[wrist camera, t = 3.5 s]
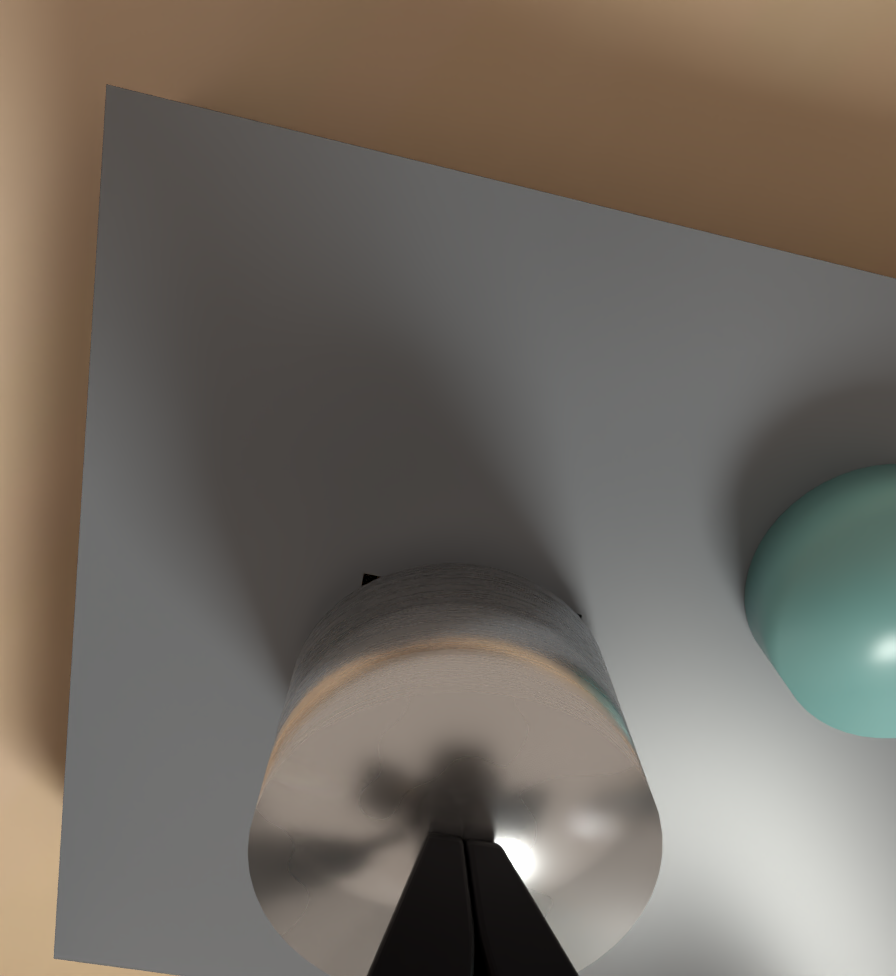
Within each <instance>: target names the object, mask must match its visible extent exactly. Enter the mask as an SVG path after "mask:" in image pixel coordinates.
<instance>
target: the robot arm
mask: <svg viewBox="0 0 896 976" xmlns="http://www.w3.org/2000/svg"><path fill="white" fill-rule="evenodd" d="M367 976H579V975H578V973H577V971H576V970H575V968H574V966H573V965H572V963H571V961H570V960H569V958H568V956H567V955H566V953H565V951H564V950H563V948H562V946H561V944H560V943H559V941H558V939H557V938H556V936H555V934H554V933H553V931H552V929H551V928H550V926H549V924H548V923H547V921H546V919H545V918H544V916H543V914H542V912H541V911H540V909H539V907H538V906H537V904H536V902H535V901H534V899H533V897H532V896H531V894H530V892H529V891H528V889H527V887H526V886H525V884H524V882H523V880H522V879H521V877H520V875H519V874H518V872H517V870H516V869H515V867H514V865H513V864H512V862H511V860H510V859H509V857H508V855H507V854H506V852H505V850H504V849H503V847H502V846H501V845H499V844H498V843H495V842H488V841H482V840H476V839H467V840H465V841H464V842H463V841H462V839H461V838H460V837H457V836H451V835H444V834H438V833H429V834H428V835H427V836H426V838H425V840H424V842H423V844H422V847H421V849H420V851H419V854H418V856H417V858H416V861H415V863H414V866H413V868H412V870H411V873H410V875H409V877H408V880H407V882H406V884H405V887H404V889H403V891H402V894H401V896H400V898H399V901H398V903H397V905H396V908H395V910H394V912H393V915H392V917H391V920H390V922H389V924H388V927H387V929H386V931H385V934H384V936H383V938H382V941H381V943H380V945H379V948H378V950H377V952H376V955H375V957H374V959H373V962H372V964H371V966H370V969H369V971H368V974H367Z"/></svg>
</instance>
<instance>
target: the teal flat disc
mask: <svg viewBox="0 0 896 976" xmlns="http://www.w3.org/2000/svg"><path fill="white" fill-rule="evenodd" d="M744 602H745V611H746V617H747V621H748V624H749V628H750V630H751V632H752V635H753V637H754V639H755V641H756V642H757V644H758V645H759V647H760V648H761V650H762V651H763V653H764V654H765V655H766V657H767V658H768V660H769V661H770V663H771V664H772V665H773V667H774V668H775V670H776V671H777V673H778V674H779V675H780V677H781V678H782V680H783V681H784V683H785V684H786V686H787V687H788V688H789V690H790V691H791V693H792V694H793V696H794V697H795V698H796V700H797V701H798V702H799V703H800V704H801V705H802V706H803V707H804V709H805V710H806V711H808V712H809V713H810V714H811V715H813V716H814V717H815V718H817V719H818V720H820V721H821V722H823V723H825V724H827V725H829V726H830V727H833V728H835V729H838V730H840V731H843V732H846V733H850V734H854V735H858V736H863V737H872V738H896V464H884V465H874V466H870V467H865V468H861V469H857V470H854V471H851V472H848V473H845V474H842V475H839V476H837V477H835V478H833V479H831V480H829V481H826V482H824V483H822V484H821V485H819V486H817V487H816V488H814V489H813V490H811V491H809V492H808V493H806V494H805V495H804V496H802V497H801V498H800V499H798V500H797V501H796V502H794V503H793V504H792V505H791V506H790V507H789V508H788V509H787V510H786V511H785V512H784V513H783V514H782V515H781V516H780V517H779V518H778V519H777V520H776V522H775V523H774V524H773V525H772V526H771V528H770V529H769V530H768V532H767V533H766V535H765V536H764V538H763V539H762V541H761V542H760V544H759V546H758V548H757V550H756V552H755V554H754V556H753V559H752V562H751V565H750V567H749V570H748V574H747V579H746V585H745V599H744Z"/></svg>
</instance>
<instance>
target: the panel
mask: <svg viewBox="0 0 896 976" xmlns="http://www.w3.org/2000/svg"><path fill="white" fill-rule="evenodd" d="M884 464H896V279H895V278H891V277H887V276H883V275H879V274H875V273H871V272H867V271H863V270H859V269H855V268H850V267H846V266H842V265H838V264H834V263H830V262H826V261H822V260H818V259H814V258H810V257H806V256H802V255H798V254H794V253H790V252H786V251H781V250H777V249H773V248H769V247H765V246H761V245H757V244H753V243H749V242H745V241H741V240H737V239H733V238H729V237H725V236H721V235H716V234H712V233H708V232H704V231H700V230H696V229H692V228H688V227H684V226H680V225H676V224H672V223H668V222H664V221H660V220H656V219H652V218H647V217H643V216H639V215H635V214H631V213H627V212H623V211H619V210H615V209H611V208H607V207H603V206H599V205H595V204H591V203H587V202H583V201H578V200H574V199H570V198H566V197H562V196H558V195H554V194H550V193H546V192H542V191H538V190H534V189H530V188H526V187H522V186H518V185H513V184H509V183H505V182H501V181H497V180H493V179H489V178H485V177H481V176H477V175H473V174H469V173H465V172H461V171H457V170H453V169H449V168H444V167H440V166H436V165H432V164H428V163H424V162H420V161H416V160H412V159H408V158H404V157H400V156H396V155H392V154H388V153H384V152H380V151H375V150H371V149H367V148H363V147H359V146H355V145H351V144H347V143H343V142H339V141H335V140H331V139H327V138H323V137H319V136H315V135H310V134H306V133H302V132H298V131H294V130H290V129H286V128H282V127H278V126H274V125H270V124H266V123H262V122H258V121H254V120H250V119H246V118H241V117H237V116H233V115H229V114H225V113H221V112H217V111H213V110H209V109H205V108H201V107H197V106H193V105H189V104H185V103H181V102H177V101H172V100H168V99H164V98H160V97H156V96H152V95H148V94H144V93H140V92H136V91H132V90H128V89H124V88H120V87H116V86H112V85H108V84H107V85H106V102H105V118H104V135H103V152H102V168H101V185H100V201H99V218H98V234H97V251H96V267H95V284H94V300H93V317H92V333H91V350H90V367H89V383H88V400H87V416H86V433H85V449H84V466H83V482H82V499H81V515H80V532H79V549H78V565H77V582H76V598H75V615H74V631H73V648H72V664H71V681H70V697H69V714H68V730H67V747H66V764H65V780H64V797H63V813H62V830H61V846H60V863H59V879H58V896H57V912H56V929H55V945H54V959H61V960H68V961H76V962H83V963H90V964H98V965H105V966H113V967H120V968H128V969H135V970H142V971H150V972H157V973H165V974H172V975H180V976H330V975H329V974H327V973H325V972H323V971H322V970H320V969H319V968H317V967H316V966H314V965H313V964H311V963H310V962H308V961H307V960H305V959H304V958H303V957H302V956H301V955H300V954H298V953H297V952H296V951H295V950H294V949H293V948H292V947H290V946H289V945H288V944H287V942H286V941H285V940H284V939H283V938H282V937H281V936H280V935H279V933H278V932H277V931H276V930H275V929H274V927H273V926H272V924H271V923H270V921H269V920H268V918H267V917H266V915H265V913H264V912H263V910H262V908H261V906H260V903H259V901H258V899H257V897H256V894H255V892H254V888H253V884H252V881H251V877H250V873H249V863H248V842H249V831H250V827H251V824H252V820H253V816H254V812H255V809H256V805H257V801H258V798H259V794H260V791H261V787H262V783H263V780H264V776H265V773H266V769H267V765H268V762H269V758H270V754H271V751H272V747H273V744H274V740H275V736H276V733H277V729H278V725H279V722H280V718H281V715H282V711H283V707H284V704H285V700H286V697H287V693H288V689H289V686H290V682H291V678H292V675H293V671H294V668H295V664H296V660H297V658H298V656H299V653H300V651H301V649H302V647H303V644H304V643H305V641H306V639H307V638H308V636H309V635H310V633H311V632H312V630H313V628H314V627H315V626H316V625H317V623H318V622H319V621H320V620H321V619H322V618H323V617H324V615H325V614H326V613H327V612H328V611H329V610H330V609H331V608H333V607H334V606H335V605H336V604H337V603H338V602H339V601H341V600H342V599H343V598H345V597H346V596H348V595H349V594H351V593H352V592H354V591H355V590H357V589H358V588H360V587H361V585H362V580H363V576H364V573H365V574H370V575H375V576H380V577H383V576H385V575H388V574H391V573H394V572H397V571H400V570H404V569H408V568H413V567H417V566H422V565H432V564H442V563H458V564H473V565H481V566H488V567H492V568H496V569H500V570H504V571H508V572H511V573H514V574H516V575H519V576H521V577H524V578H526V579H529V580H531V581H533V582H535V583H536V584H538V585H540V586H542V587H544V588H546V589H547V590H549V591H550V592H552V593H553V594H554V595H556V596H557V597H558V598H560V599H561V600H563V601H564V602H565V603H566V604H567V605H568V606H569V607H570V608H571V609H572V610H573V611H574V612H575V613H576V614H577V615H578V616H579V617H580V618H581V619H582V621H583V622H584V623H585V625H586V626H587V627H588V628H589V630H590V631H591V633H592V635H593V637H594V638H595V640H596V642H597V644H598V646H599V648H600V651H601V653H602V656H603V659H604V662H605V664H606V667H607V670H608V673H609V676H610V678H611V681H612V684H613V687H614V689H615V692H616V695H617V698H618V701H619V703H620V706H621V709H622V712H623V715H624V717H625V720H626V723H627V726H628V729H629V731H630V734H631V737H632V740H633V743H634V745H635V748H636V751H637V754H638V757H639V759H640V762H641V765H642V768H643V771H644V773H645V776H646V779H647V782H648V785H649V787H650V790H651V793H652V796H653V799H654V801H655V804H656V807H657V810H658V813H659V817H660V823H661V829H662V860H661V865H660V871H659V876H658V879H657V881H656V884H655V887H654V890H653V893H652V895H651V897H650V899H649V901H648V903H647V905H646V906H645V908H644V910H643V912H642V914H641V915H640V916H639V918H638V919H637V920H636V922H635V923H634V924H633V926H632V927H631V929H630V930H629V931H628V932H627V933H626V934H625V935H624V936H623V937H622V938H621V939H620V940H619V941H618V942H617V943H616V945H615V946H613V947H612V948H611V949H610V950H608V951H607V952H606V953H605V954H604V955H602V956H601V957H600V958H599V959H597V960H596V961H594V962H593V963H591V964H590V965H588V966H587V967H585V968H584V969H582V970H580V971H579V972H577V973H578V975H579V976H896V738H872V737H863V736H858V735H854V734H850V733H846V732H843V731H840V730H838V729H835V728H833V727H830V726H829V725H827V724H825V723H823V722H821V721H820V720H818V719H817V718H815V717H814V716H813V715H811V714H810V713H809V712H808V711H806V710H805V709H804V707H803V706H802V705H801V704H800V703H799V702H798V701H797V700H796V698H795V697H794V696H793V694H792V693H791V691H790V690H789V688H788V687H787V686H786V684H785V683H784V681H783V680H782V678H781V677H780V675H779V674H778V673H777V671H776V670H775V668H774V667H773V665H772V664H771V663H770V661H769V660H768V658H767V657H766V655H765V654H764V653H763V651H762V650H761V648H760V647H759V645H758V644H757V642H756V641H755V639H754V637H753V635H752V632H751V630H750V628H749V624H748V621H747V617H746V611H745V602H744V599H745V585H746V579H747V574H748V570H749V567H750V565H751V562H752V559H753V556H754V554H755V552H756V550H757V548H758V546H759V544H760V542H761V541H762V539H763V538H764V536H765V535H766V533H767V532H768V530H769V529H770V528H771V526H772V525H773V524H774V523H775V522H776V520H777V519H778V518H779V517H780V516H781V515H782V514H783V513H784V512H785V511H786V510H787V509H788V508H789V507H790V506H791V505H792V504H793V503H794V502H796V501H797V500H798V499H800V498H801V497H802V496H804V495H805V494H806V493H808V492H809V491H811V490H813V489H814V488H816V487H817V486H819V485H821V484H822V483H824V482H826V481H829V480H831V479H833V478H835V477H837V476H839V475H842V474H845V473H848V472H851V471H854V470H857V469H861V468H865V467H870V466H874V465H884Z"/></svg>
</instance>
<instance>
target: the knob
mask: <svg viewBox="0 0 896 976" xmlns="http://www.w3.org/2000/svg"><path fill="white" fill-rule="evenodd" d="M429 833H438V834H444V835H451V836H457V837H460V838H461V839H462V841H463V842H464V841H465V840H467V839H476V840H482V841H488V842H495V843H498V844H499V845H501V846H502V847H503V849H504V850H505V852H506V854H507V855H508V857H509V859H510V860H511V862H512V864H513V865H514V867H515V869H516V870H517V872H518V874H519V875H520V877H521V879H522V880H523V882H524V884H525V886H526V887H527V889H528V891H529V892H530V894H531V896H532V897H533V899H534V901H535V902H536V904H537V906H538V907H539V909H540V911H541V912H542V914H543V916H544V918H545V919H546V921H547V923H548V924H549V926H550V928H551V929H552V931H553V933H554V934H555V936H556V938H557V939H558V941H559V943H560V944H561V946H562V948H563V950H564V951H565V953H566V955H567V956H568V958H569V960H570V961H571V963H572V965H573V966H574V968H575V970H576V971H577V972H579V971H580V970H582V969H584V968H585V967H587V966H588V965H590V964H591V963H593V962H594V961H596V960H597V959H599V958H600V957H601V956H602V955H604V954H605V953H606V952H607V951H608V950H610V949H611V948H612V947H613V946H615V945H616V943H617V942H618V941H619V940H620V939H621V938H622V937H623V936H624V935H625V934H626V933H627V932H628V931H629V930H630V929H631V927H632V926H633V924H634V923H635V922H636V920H637V919H638V918H639V916H640V915H641V914H642V912H643V910H644V908H645V906H646V905H647V903H648V901H649V899H650V897H651V895H652V893H653V890H654V887H655V884H656V881H657V879H658V876H659V871H660V865H661V860H662V829H661V823H660V817H659V813H658V810H657V807H656V804H655V801H654V799H653V796H652V793H651V790H650V787H649V785H648V782H647V779H646V776H645V773H644V771H643V768H642V765H641V762H640V759H639V757H638V754H637V751H636V748H635V745H634V743H633V740H632V737H631V734H630V731H629V729H628V726H627V723H626V720H625V717H624V715H623V712H622V709H621V706H620V703H619V701H618V698H617V695H616V692H615V689H614V687H613V684H612V681H611V678H610V676H609V673H608V670H607V667H606V664H605V662H604V659H603V656H602V653H601V651H600V648H599V646H598V644H597V642H596V640H595V638H594V637H593V635H592V633H591V631H590V630H589V628H588V627H587V626H586V625H585V623H584V622H583V621H582V619H581V618H580V617H579V616H578V615H577V614H576V613H575V612H574V611H573V610H572V609H571V608H570V607H569V606H568V605H567V604H566V603H565V602H564V601H563V600H561V599H560V598H558V597H557V596H556V595H554V594H553V593H552V592H550V591H549V590H547V589H546V588H544V587H542V586H540V585H538V584H536V583H535V582H533V581H531V580H529V579H526V578H524V577H521V576H519V575H516V574H514V573H511V572H508V571H504V570H500V569H496V568H492V567H488V566H481V565H473V564H458V563H442V564H432V565H422V566H417V567H413V568H408V569H404V570H400V571H397V572H394V573H391V574H388V575H385V576H383V577H380V578H378V579H376V580H374V581H371V582H369V583H367V584H365V585H363V586H361V587H360V588H358V589H357V590H355V591H354V592H352V593H351V594H349V595H348V596H346V597H345V598H343V599H342V600H341V601H339V602H338V603H337V604H336V605H335V606H334V607H333V608H331V609H330V610H329V611H328V612H327V613H326V614H325V615H324V617H323V618H322V619H321V620H320V621H319V622H318V623H317V625H316V626H315V627H314V628H313V630H312V632H311V633H310V635H309V636H308V638H307V639H306V641H305V643H304V644H303V647H302V649H301V651H300V653H299V656H298V658H297V660H296V664H295V668H294V671H293V675H292V678H291V682H290V686H289V689H288V693H287V697H286V700H285V704H284V707H283V711H282V715H281V718H280V722H279V725H278V729H277V733H276V736H275V740H274V744H273V747H272V751H271V754H270V758H269V762H268V765H267V769H266V773H265V776H264V780H263V783H262V787H261V791H260V794H259V798H258V801H257V805H256V809H255V812H254V816H253V820H252V824H251V827H250V831H249V842H248V863H249V873H250V877H251V881H252V884H253V888H254V892H255V894H256V897H257V899H258V901H259V903H260V906H261V908H262V910H263V912H264V913H265V915H266V917H267V918H268V920H269V921H270V923H271V924H272V926H273V927H274V929H275V930H276V931H277V932H278V933H279V935H280V936H281V937H282V938H283V939H284V940H285V941H286V942H287V944H288V945H289V946H290V947H292V948H293V949H294V950H295V951H296V952H297V953H298V954H300V955H301V956H302V957H303V958H304V959H305V960H307V961H308V962H310V963H311V964H313V965H314V966H316V967H317V968H319V969H320V970H322V971H323V972H325V973H327V974H329V975H330V976H367V974H368V971H369V969H370V966H371V964H372V962H373V959H374V957H375V955H376V952H377V950H378V948H379V945H380V943H381V941H382V938H383V936H384V934H385V931H386V929H387V927H388V924H389V922H390V920H391V917H392V915H393V912H394V910H395V908H396V905H397V903H398V901H399V898H400V896H401V894H402V891H403V889H404V887H405V884H406V882H407V880H408V877H409V875H410V873H411V870H412V868H413V866H414V863H415V861H416V858H417V856H418V854H419V851H420V849H421V847H422V844H423V842H424V840H425V838H426V836H427V835H428V834H429Z"/></svg>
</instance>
